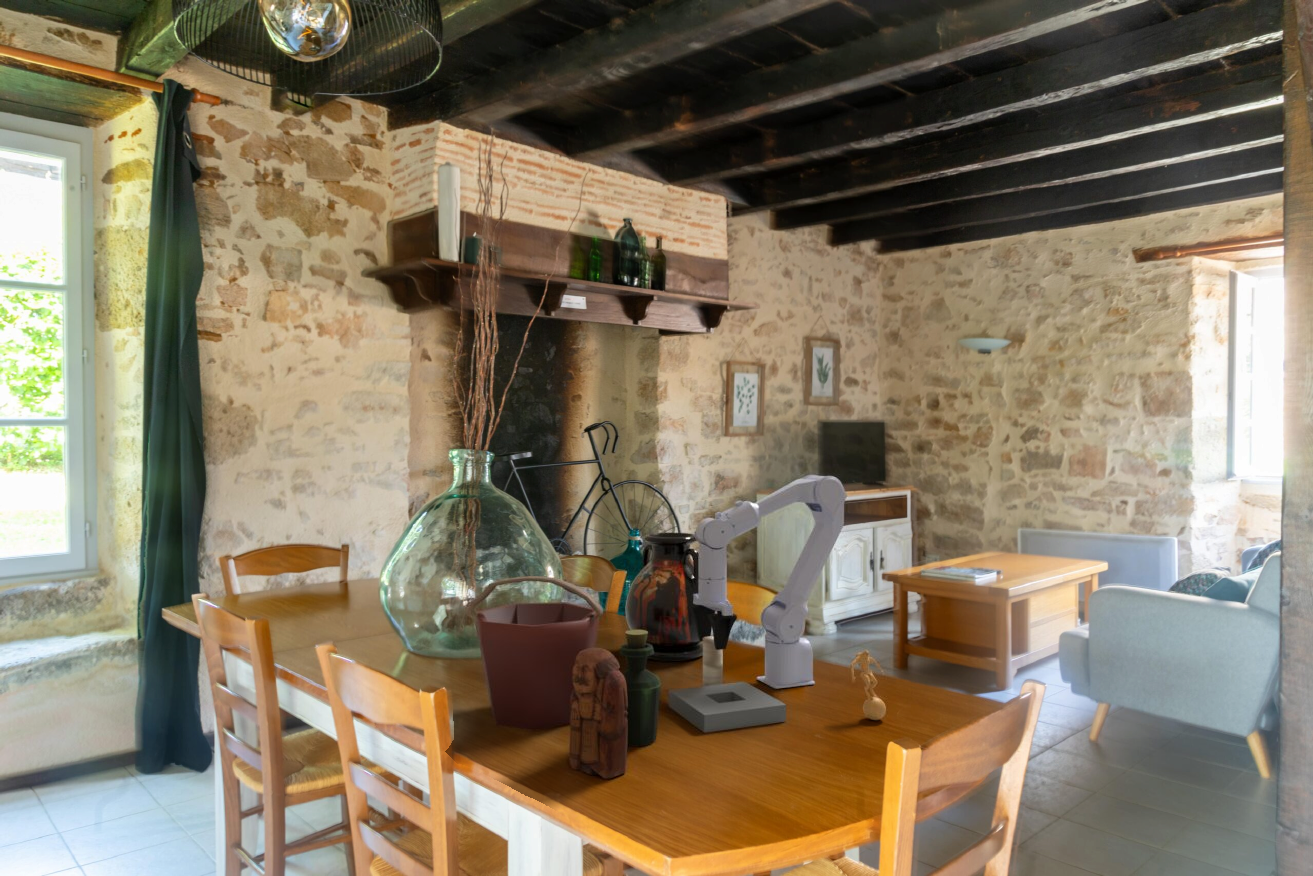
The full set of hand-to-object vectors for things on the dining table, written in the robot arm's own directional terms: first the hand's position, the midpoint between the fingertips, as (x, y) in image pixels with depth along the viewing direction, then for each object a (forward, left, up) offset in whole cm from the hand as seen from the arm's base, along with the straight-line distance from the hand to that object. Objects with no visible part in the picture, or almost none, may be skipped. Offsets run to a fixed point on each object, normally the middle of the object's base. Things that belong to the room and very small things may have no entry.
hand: (712, 645), depth 175 cm
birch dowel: (0, 0, -9) cm, 9 cm away
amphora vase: (-3, -29, -9) cm, 30 cm away
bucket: (+37, +3, -9) cm, 38 cm away
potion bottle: (+25, +23, -9) cm, 35 cm away
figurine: (-18, +28, -9) cm, 34 cm away
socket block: (+5, +16, -9) cm, 19 cm away
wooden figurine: (+35, +32, -9) cm, 48 cm away
